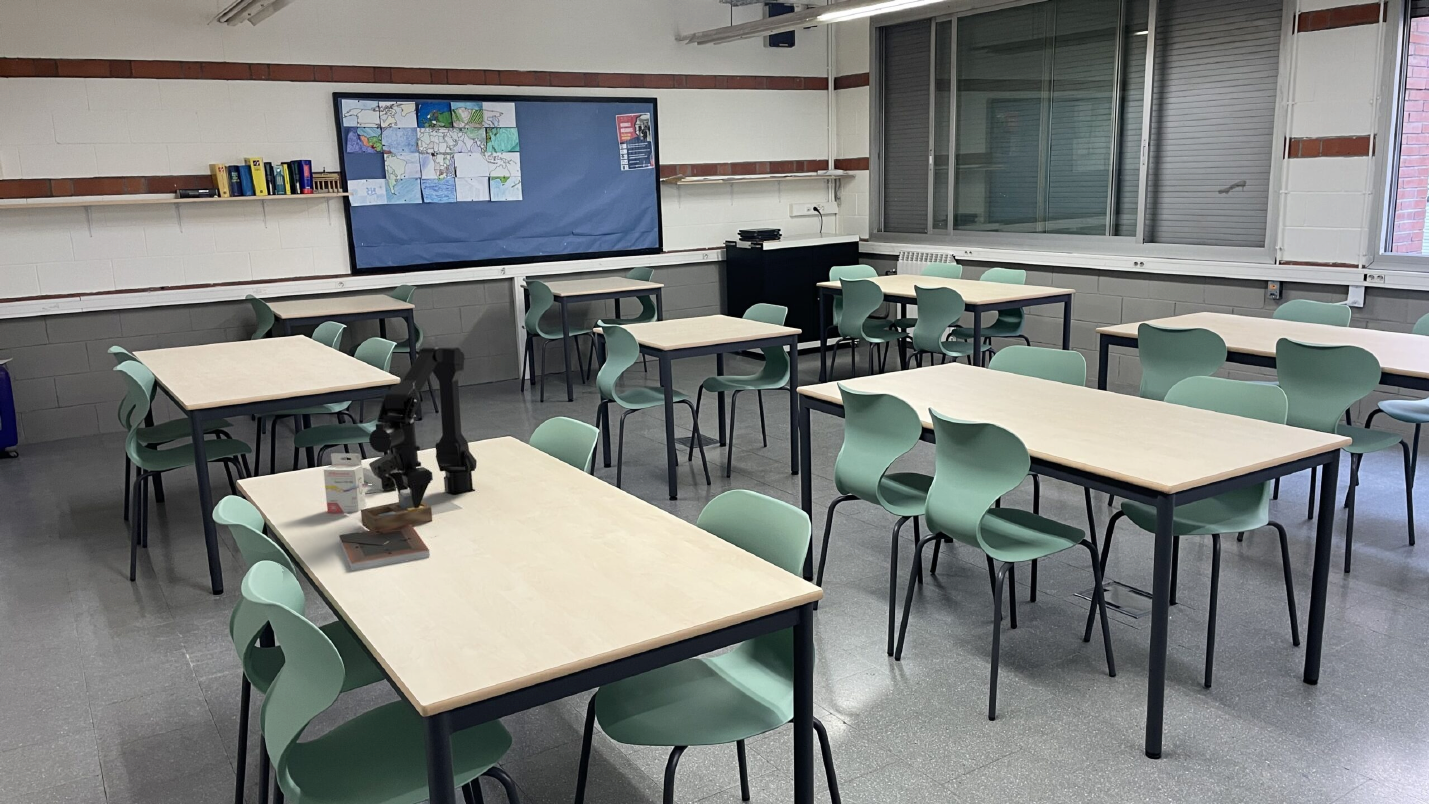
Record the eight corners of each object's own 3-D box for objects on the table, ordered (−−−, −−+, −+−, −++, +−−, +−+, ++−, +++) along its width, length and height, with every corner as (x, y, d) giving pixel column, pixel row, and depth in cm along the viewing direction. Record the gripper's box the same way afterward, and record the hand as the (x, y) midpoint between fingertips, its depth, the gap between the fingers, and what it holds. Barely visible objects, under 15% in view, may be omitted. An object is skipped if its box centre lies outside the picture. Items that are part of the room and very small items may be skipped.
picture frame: (339, 544, 239) (352, 573, 220) (338, 534, 238) (351, 562, 219) (411, 532, 246) (430, 559, 227) (411, 523, 245) (429, 549, 227)
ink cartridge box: (326, 513, 261) (320, 457, 258) (335, 507, 266) (329, 453, 263) (358, 513, 260) (353, 457, 257) (367, 507, 265) (361, 452, 262)
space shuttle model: (386, 471, 303) (383, 438, 301) (420, 488, 284) (416, 453, 282) (334, 481, 294) (330, 447, 292) (365, 499, 274) (361, 463, 272)
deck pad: (450, 503, 267) (450, 501, 267) (462, 510, 260) (462, 508, 260) (420, 509, 262) (420, 507, 262) (432, 516, 256) (432, 514, 256)
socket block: (417, 513, 259) (416, 497, 258) (432, 522, 251) (431, 506, 250) (362, 525, 250) (360, 508, 250) (376, 535, 243) (374, 518, 242)
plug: (416, 514, 255) (413, 487, 254) (421, 518, 252) (419, 490, 251) (400, 517, 253) (397, 490, 252) (406, 521, 250) (403, 494, 248)
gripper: (358, 441, 251) (364, 501, 254) (384, 455, 237) (390, 519, 240) (402, 433, 258) (408, 493, 261) (430, 447, 243) (436, 509, 246)
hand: (409, 503), depth 252 cm, fingers open, 9 cm apart
